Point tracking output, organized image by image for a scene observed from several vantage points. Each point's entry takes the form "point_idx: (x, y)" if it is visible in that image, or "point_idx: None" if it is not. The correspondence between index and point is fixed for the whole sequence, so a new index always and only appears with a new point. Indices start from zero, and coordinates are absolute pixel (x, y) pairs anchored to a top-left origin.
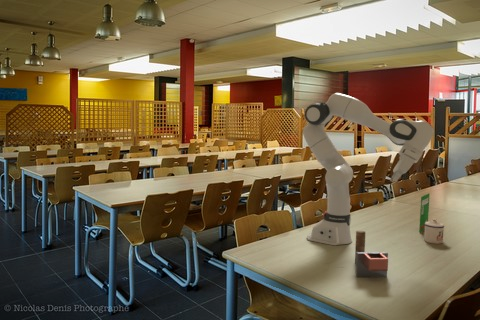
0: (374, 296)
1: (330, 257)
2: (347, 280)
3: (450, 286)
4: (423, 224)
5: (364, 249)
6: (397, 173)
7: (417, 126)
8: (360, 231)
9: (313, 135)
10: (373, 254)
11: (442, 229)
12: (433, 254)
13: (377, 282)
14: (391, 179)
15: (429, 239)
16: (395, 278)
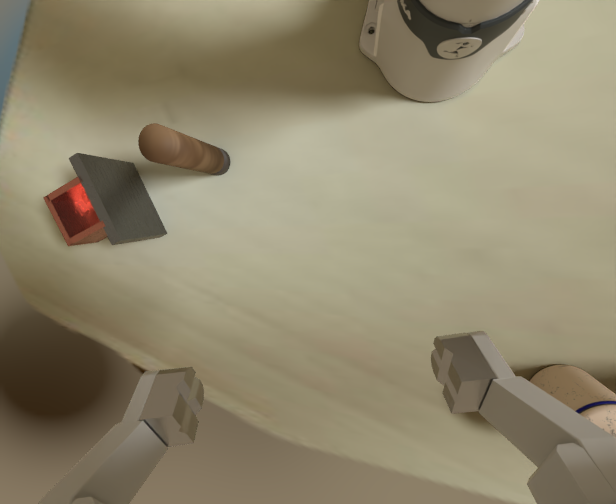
0: (50, 215)
1: (232, 66)
2: (97, 149)
3: (169, 366)
4: None
5: (190, 169)
6: (56, 498)
7: None
8: (159, 141)
9: None
10: (94, 204)
11: None
12: (392, 368)
13: None
14: (442, 351)
15: (538, 383)
16: (159, 256)
